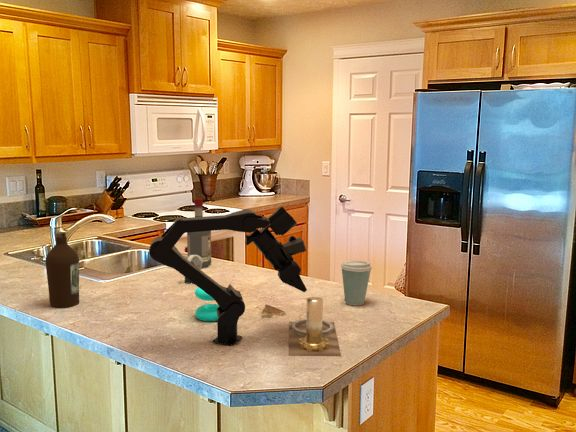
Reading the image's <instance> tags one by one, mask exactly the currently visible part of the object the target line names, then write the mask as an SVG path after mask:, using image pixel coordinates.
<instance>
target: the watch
mask: <svg viewBox="0 0 576 432" xmlns="http://www.w3.org/2000/svg"><path fill="white" fill-rule="evenodd" d="M186 259H187V260H188V261H190V262H191V261H192V262H193V263H194V265H195V266H196V267H197V268H199V269H200V270H201V269H202V268H201V267H202V263H203V259H202V258H201V257H200V256H198V255H190V256H189V257H188V256H187V258H186ZM201 271H202V270H201ZM184 283H185V284H191V283H192V282H191V281H190V280H188V279H187V278H186V277H185V276H184ZM191 285H195V284H194V283H192V284H191Z"/></svg>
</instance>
